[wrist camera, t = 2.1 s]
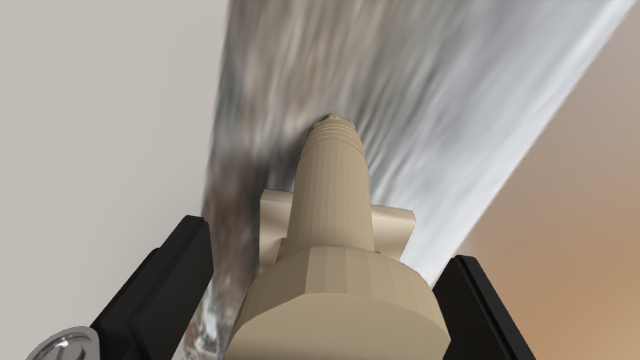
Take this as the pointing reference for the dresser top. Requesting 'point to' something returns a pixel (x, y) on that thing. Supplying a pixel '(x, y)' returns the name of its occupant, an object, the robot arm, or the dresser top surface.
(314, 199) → the handle
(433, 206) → the dresser top surface
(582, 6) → the dresser top surface
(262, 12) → the dresser top surface
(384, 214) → the wooden base with box
